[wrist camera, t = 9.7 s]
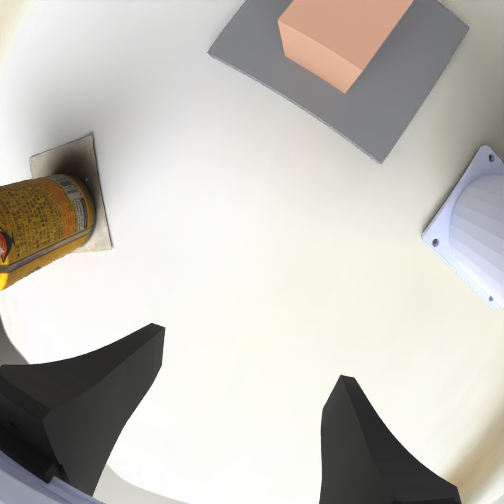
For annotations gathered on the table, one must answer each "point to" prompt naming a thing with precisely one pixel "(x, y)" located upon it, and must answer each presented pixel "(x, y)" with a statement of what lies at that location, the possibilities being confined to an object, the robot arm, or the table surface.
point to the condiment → (52, 212)
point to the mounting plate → (368, 82)
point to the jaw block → (338, 35)
